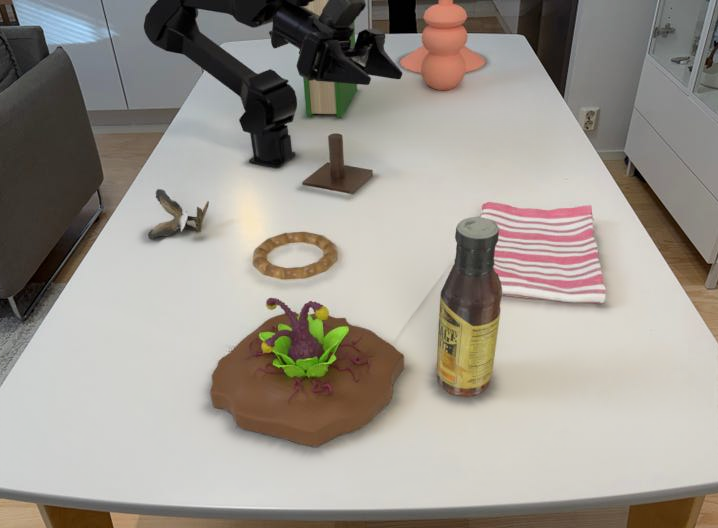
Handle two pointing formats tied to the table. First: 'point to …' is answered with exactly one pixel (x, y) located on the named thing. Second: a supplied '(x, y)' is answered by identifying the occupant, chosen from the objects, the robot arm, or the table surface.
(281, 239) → the segmented tan ring
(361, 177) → the peg stand
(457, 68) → the ceramic vessels
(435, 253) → the table surface
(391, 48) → the table surface
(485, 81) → the table surface
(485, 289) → the sauce bottle
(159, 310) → the table surface
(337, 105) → the hardback book
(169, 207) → the eagle figurine
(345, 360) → the plant
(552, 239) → the dish towel
